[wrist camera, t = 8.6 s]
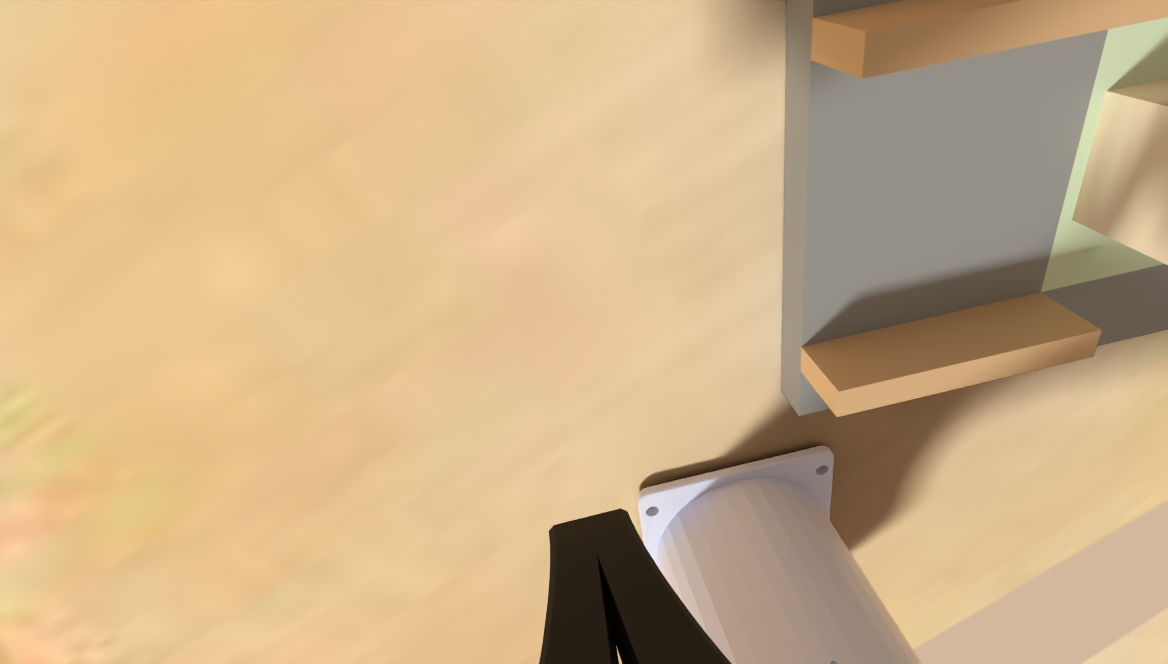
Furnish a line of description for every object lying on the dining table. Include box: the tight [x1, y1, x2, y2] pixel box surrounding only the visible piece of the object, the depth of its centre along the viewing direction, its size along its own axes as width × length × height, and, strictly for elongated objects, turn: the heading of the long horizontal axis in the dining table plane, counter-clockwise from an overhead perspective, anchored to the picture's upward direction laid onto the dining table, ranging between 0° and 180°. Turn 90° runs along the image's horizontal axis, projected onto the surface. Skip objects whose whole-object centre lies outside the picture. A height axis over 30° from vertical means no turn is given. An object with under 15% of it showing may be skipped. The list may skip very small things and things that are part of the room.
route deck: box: [781, 0, 1168, 417], centre depth 20 cm, size 15×20×4 cm
